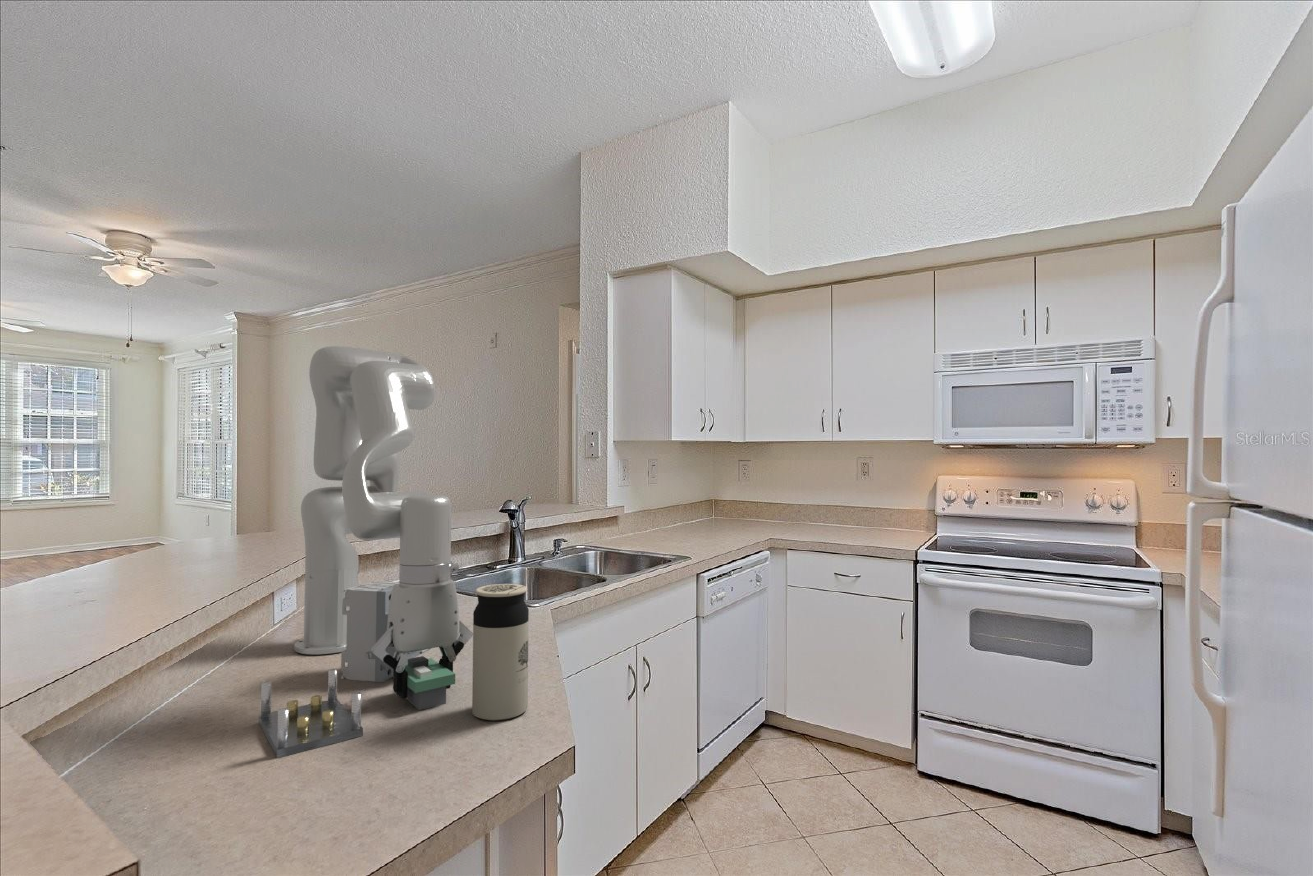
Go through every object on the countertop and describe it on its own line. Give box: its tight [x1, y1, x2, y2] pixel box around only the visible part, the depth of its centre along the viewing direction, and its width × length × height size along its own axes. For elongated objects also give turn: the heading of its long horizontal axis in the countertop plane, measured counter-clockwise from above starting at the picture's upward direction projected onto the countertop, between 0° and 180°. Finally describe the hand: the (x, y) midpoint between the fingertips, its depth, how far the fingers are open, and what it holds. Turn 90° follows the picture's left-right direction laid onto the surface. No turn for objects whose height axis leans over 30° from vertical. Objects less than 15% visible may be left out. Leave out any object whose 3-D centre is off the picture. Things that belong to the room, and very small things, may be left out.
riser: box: [405, 686, 447, 711], centre depth 98 cm, size 8×4×3 cm, turn 40°
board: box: [405, 655, 456, 693], centre depth 98 cm, size 10×6×2 cm, turn 40°
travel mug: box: [471, 583, 530, 722], centre depth 94 cm, size 8×8×18 cm
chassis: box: [258, 668, 364, 759], centre depth 87 cm, size 14×10×6 cm
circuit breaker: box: [340, 581, 433, 683], centre depth 110 cm, size 8×14×15 cm, turn 78°
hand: (423, 690), depth 98 cm, fingers closed on board, 6 cm apart
